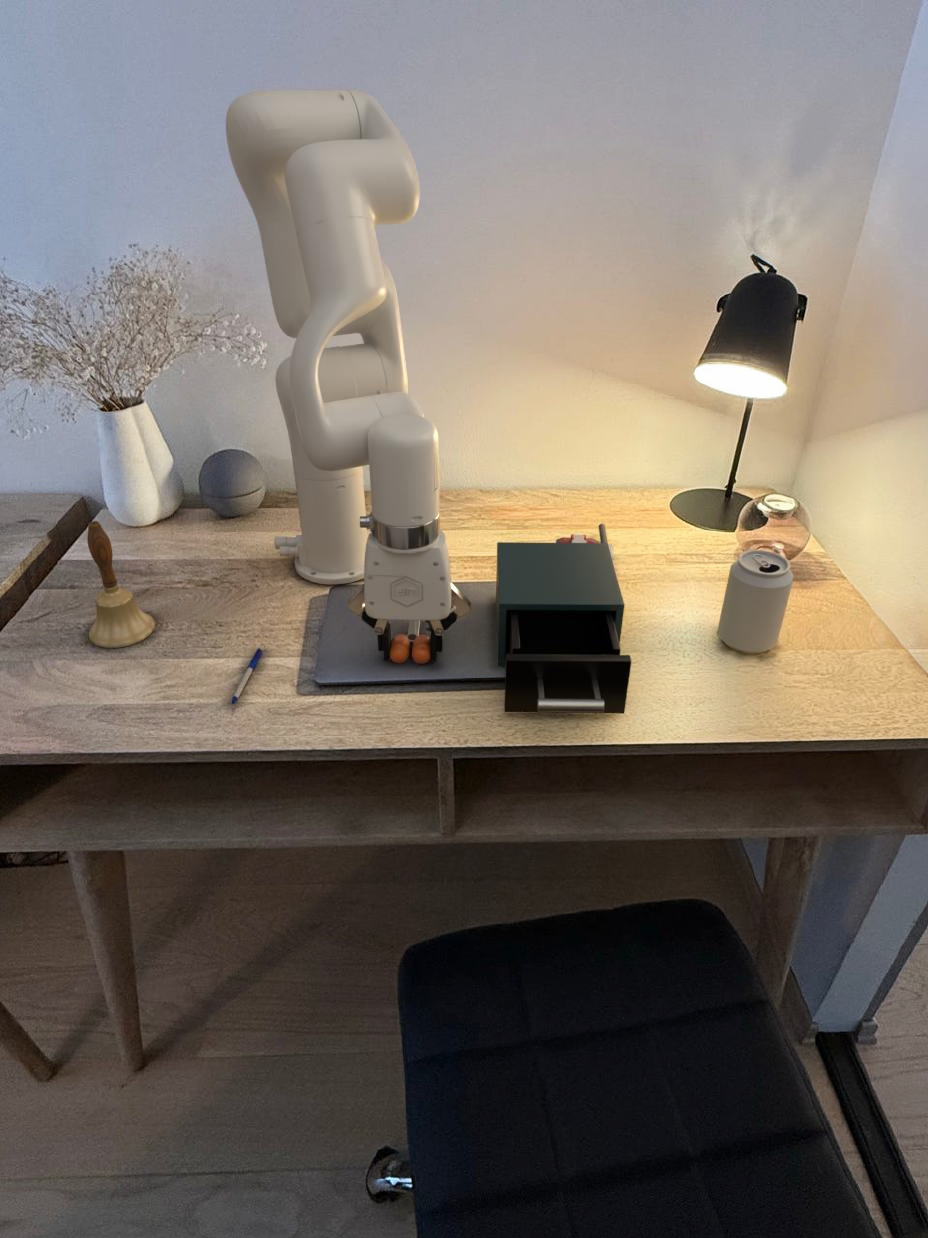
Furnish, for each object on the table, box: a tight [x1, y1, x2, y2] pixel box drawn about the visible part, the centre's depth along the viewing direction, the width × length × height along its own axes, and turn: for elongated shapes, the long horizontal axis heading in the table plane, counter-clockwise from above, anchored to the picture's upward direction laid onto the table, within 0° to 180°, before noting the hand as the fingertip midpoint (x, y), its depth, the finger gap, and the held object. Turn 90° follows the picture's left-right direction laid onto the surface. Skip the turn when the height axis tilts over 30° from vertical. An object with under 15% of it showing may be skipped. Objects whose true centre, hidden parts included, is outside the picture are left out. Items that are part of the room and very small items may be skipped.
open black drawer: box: [503, 610, 632, 715], centre depth 95 cm, size 19×14×7 cm
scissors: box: [389, 620, 431, 664], centre depth 105 cm, size 10×5×2 cm, turn 179°
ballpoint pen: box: [230, 647, 263, 705], centre depth 100 cm, size 10×1×1 cm, turn 176°
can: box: [717, 549, 794, 655], centre depth 104 cm, size 8×8×12 cm
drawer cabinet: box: [495, 541, 625, 667], centre depth 106 cm, size 15×15×9 cm
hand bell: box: [86, 520, 156, 649], centre depth 105 cm, size 8×8×16 cm
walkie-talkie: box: [555, 523, 615, 561], centre depth 123 cm, size 9×4×20 cm
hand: (411, 653), depth 103 cm, fingers closed on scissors, 5 cm apart
